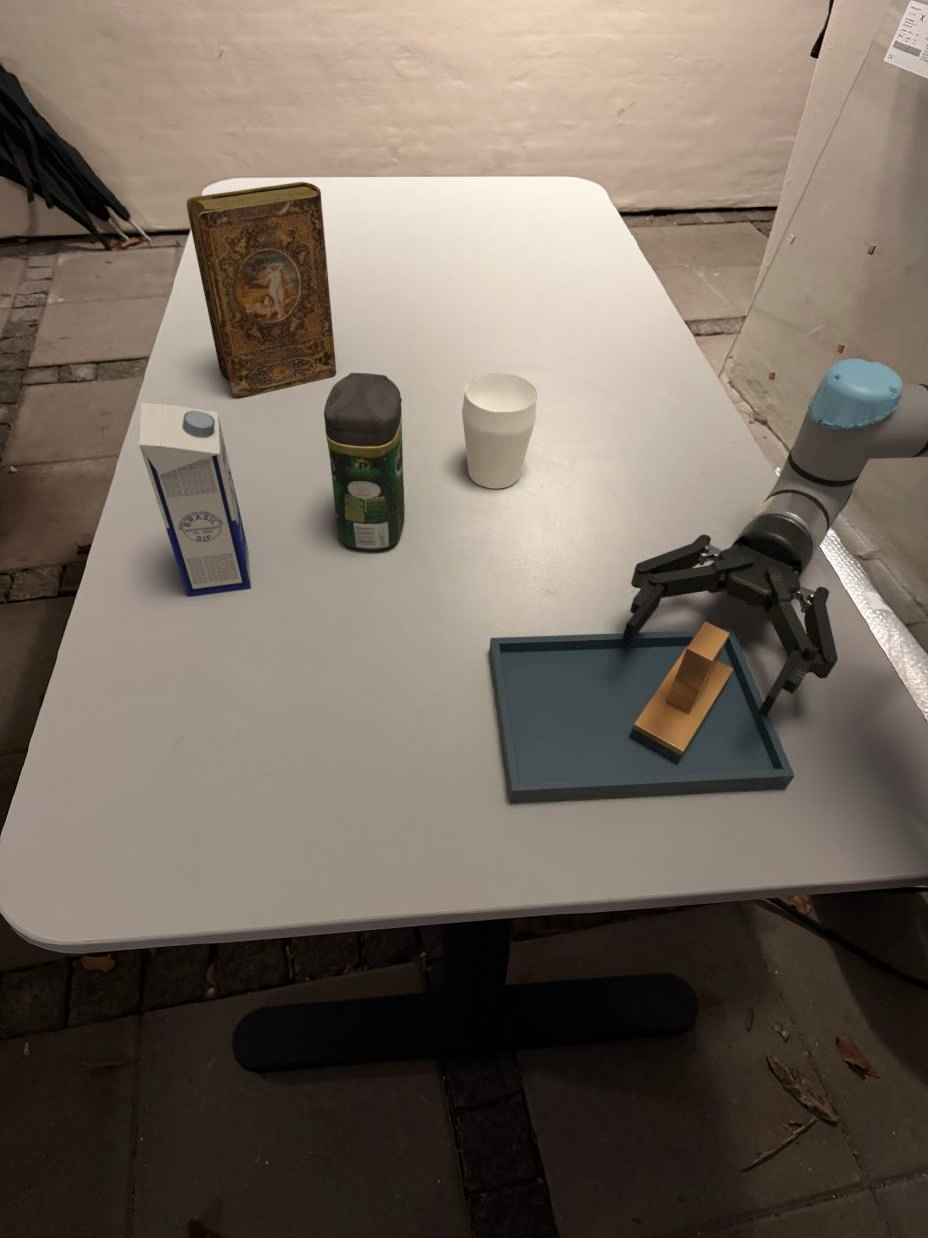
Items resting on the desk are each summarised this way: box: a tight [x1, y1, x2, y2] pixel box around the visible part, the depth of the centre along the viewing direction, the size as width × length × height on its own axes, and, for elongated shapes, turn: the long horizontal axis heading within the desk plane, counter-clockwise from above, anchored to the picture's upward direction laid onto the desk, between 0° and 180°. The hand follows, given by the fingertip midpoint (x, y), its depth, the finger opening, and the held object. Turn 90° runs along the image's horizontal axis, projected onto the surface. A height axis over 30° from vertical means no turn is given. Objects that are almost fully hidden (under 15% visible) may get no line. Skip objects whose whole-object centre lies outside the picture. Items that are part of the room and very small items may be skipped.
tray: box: [488, 628, 795, 805], centre depth 75 cm, size 18×26×2 cm
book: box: [186, 181, 337, 398], centre depth 105 cm, size 16×6×25 cm, turn 118°
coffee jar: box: [323, 372, 406, 551], centre depth 86 cm, size 10×8×19 cm
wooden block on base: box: [630, 621, 734, 764], centre depth 72 cm, size 5×12×10 cm, turn 145°
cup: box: [461, 372, 538, 490], centre depth 97 cm, size 9×9×12 cm
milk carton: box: [138, 402, 252, 598], centre depth 79 cm, size 7×7×20 cm
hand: (694, 669), depth 70 cm, fingers open, 13 cm apart
